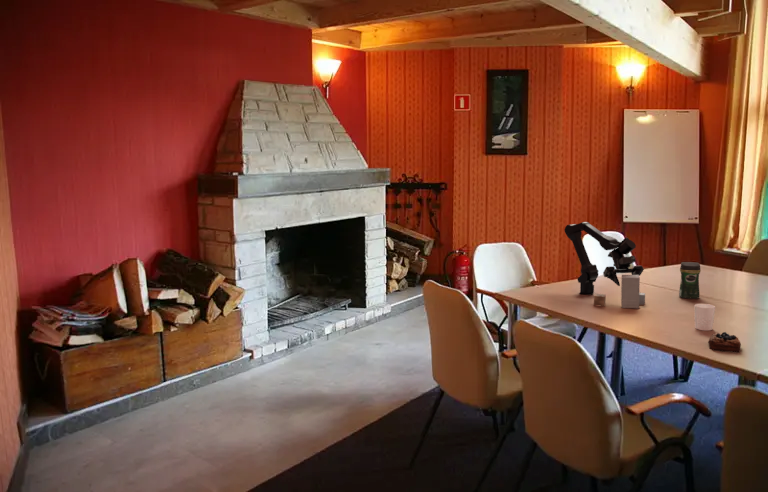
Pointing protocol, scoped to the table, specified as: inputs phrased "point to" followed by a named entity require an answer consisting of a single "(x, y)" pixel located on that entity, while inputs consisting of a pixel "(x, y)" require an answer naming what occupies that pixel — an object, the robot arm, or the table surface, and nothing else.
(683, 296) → the coffee jar
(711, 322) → the white cup
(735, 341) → the pastry
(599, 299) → the walnut block
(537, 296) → the table surface
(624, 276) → the skincare box
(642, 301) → the slate-grey block
